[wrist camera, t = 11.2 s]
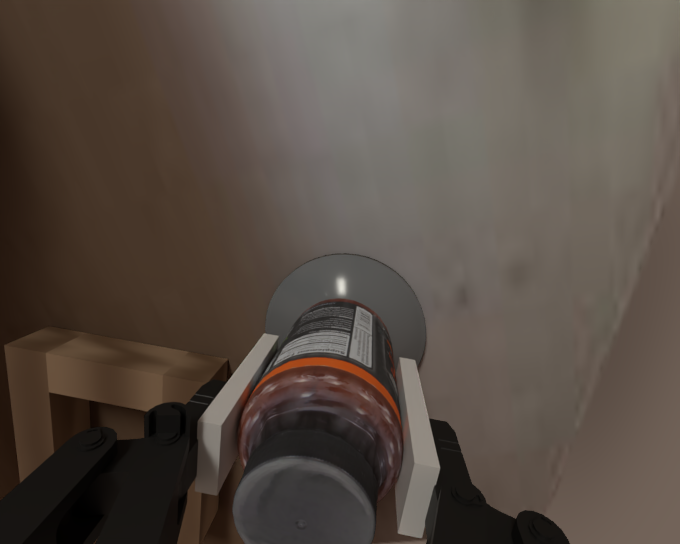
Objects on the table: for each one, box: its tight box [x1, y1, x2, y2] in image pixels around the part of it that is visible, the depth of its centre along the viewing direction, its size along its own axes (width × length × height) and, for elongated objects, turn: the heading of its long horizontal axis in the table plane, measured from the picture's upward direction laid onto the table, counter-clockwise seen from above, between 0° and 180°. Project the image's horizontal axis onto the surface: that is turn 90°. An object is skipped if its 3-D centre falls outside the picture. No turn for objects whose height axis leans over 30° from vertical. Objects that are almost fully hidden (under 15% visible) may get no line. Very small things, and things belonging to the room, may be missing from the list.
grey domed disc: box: [265, 253, 426, 375], centre depth 21 cm, size 10×10×1 cm
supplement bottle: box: [233, 298, 403, 544], centre depth 15 cm, size 6×6×11 cm
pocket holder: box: [4, 326, 228, 544], centre depth 24 cm, size 13×13×3 cm
